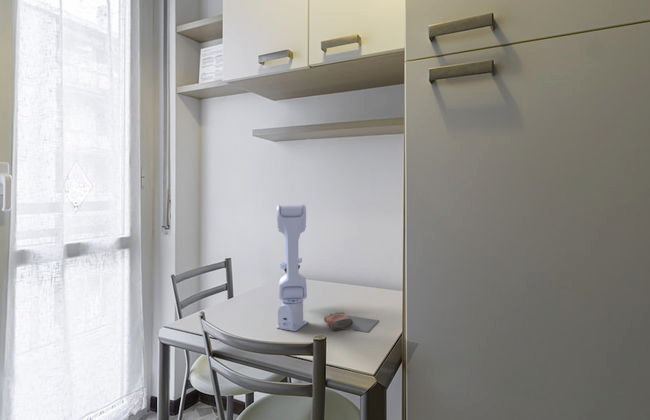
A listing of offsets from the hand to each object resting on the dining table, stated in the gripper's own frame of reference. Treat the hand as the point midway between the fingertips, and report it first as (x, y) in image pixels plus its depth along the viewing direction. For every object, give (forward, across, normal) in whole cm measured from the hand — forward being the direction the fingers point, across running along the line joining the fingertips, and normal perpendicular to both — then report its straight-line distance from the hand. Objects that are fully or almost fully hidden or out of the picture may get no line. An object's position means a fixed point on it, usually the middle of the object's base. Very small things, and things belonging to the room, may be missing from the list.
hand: (292, 282), depth 151 cm
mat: (+10, -7, -30) cm, 32 cm away
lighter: (+8, -14, -28) cm, 32 cm away
